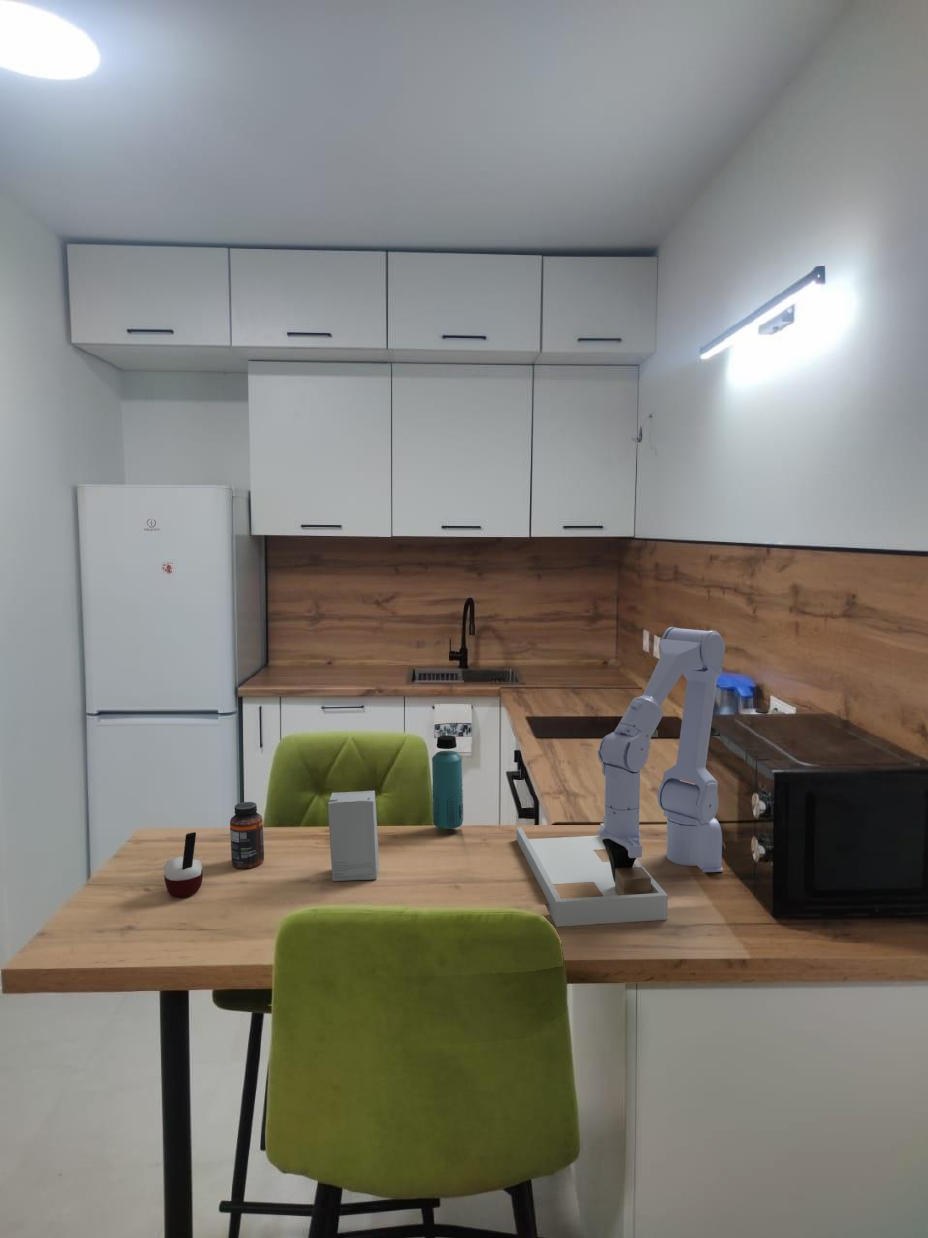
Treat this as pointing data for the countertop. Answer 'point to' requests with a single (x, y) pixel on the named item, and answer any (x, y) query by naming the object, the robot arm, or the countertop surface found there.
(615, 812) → the robot arm
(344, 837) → the skincare box
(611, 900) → the tray
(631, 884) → the walnut block
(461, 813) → the beverage bottle
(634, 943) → the countertop surface
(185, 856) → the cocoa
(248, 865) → the supplement bottle
